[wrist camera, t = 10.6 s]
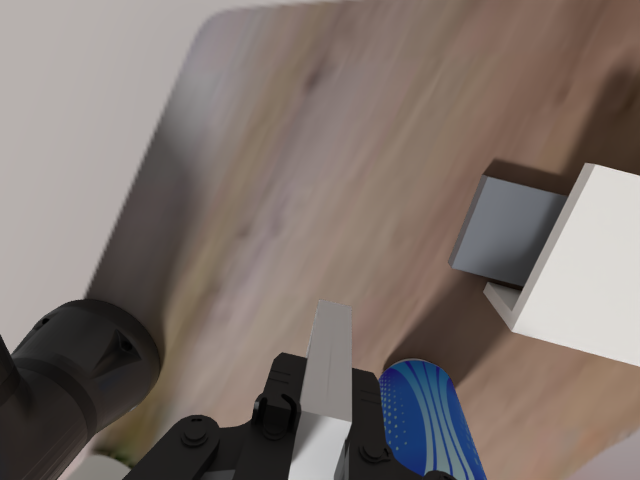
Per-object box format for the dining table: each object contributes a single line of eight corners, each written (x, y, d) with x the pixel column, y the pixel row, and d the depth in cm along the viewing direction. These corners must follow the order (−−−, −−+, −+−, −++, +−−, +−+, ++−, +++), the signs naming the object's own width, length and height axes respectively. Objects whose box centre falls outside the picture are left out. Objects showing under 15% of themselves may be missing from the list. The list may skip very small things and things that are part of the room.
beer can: (383, 346, 39) (397, 486, 24) (459, 359, 39) (523, 511, 24) (369, 405, 42) (374, 564, 27) (440, 419, 41) (487, 589, 26)
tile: (446, 260, 36) (451, 267, 34) (480, 173, 33) (487, 176, 31) (582, 295, 35) (595, 305, 34) (629, 211, 32) (645, 216, 31)
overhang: (482, 292, 36) (511, 331, 29) (544, 155, 31) (595, 164, 24) (599, 323, 36) (655, 370, 29) (678, 190, 31) (768, 209, 24)
